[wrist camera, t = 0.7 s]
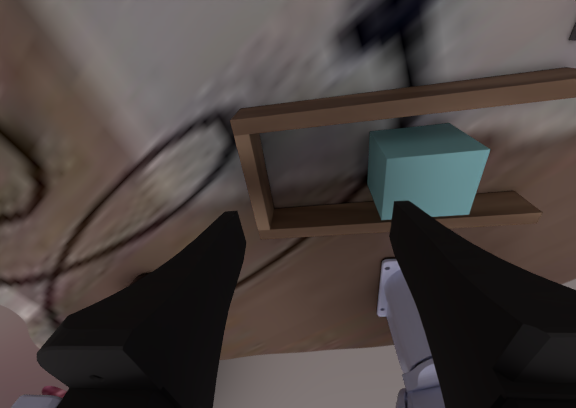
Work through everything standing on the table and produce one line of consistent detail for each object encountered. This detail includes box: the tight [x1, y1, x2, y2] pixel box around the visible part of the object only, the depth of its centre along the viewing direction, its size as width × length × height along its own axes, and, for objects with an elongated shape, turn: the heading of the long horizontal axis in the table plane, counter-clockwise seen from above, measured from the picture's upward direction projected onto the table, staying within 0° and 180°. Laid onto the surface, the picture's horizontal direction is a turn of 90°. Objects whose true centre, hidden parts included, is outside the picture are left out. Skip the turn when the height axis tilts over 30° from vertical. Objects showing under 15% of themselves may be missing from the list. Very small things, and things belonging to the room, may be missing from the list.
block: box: [367, 123, 490, 220], centre depth 18 cm, size 4×6×5 cm
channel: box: [230, 67, 576, 240], centre depth 19 cm, size 10×21×3 cm, turn 98°
